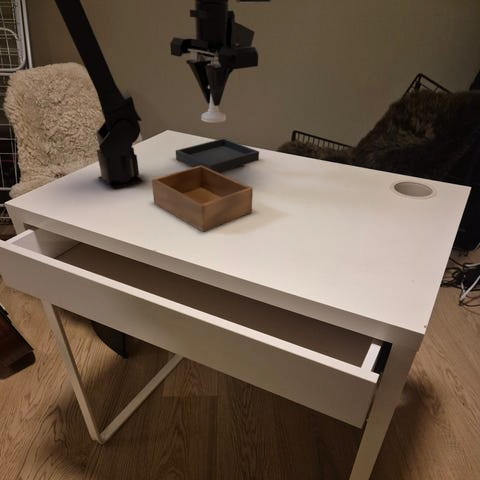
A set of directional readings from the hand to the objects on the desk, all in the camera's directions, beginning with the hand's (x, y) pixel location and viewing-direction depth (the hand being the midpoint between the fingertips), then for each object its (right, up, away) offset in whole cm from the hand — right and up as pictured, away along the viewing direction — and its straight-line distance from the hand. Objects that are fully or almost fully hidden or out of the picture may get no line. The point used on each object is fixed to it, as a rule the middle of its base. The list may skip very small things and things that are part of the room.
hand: (213, 104), depth 80 cm
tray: (0, -5, +14) cm, 15 cm away
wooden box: (-2, -21, -5) cm, 22 cm away
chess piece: (0, -2, +2) cm, 3 cm away
